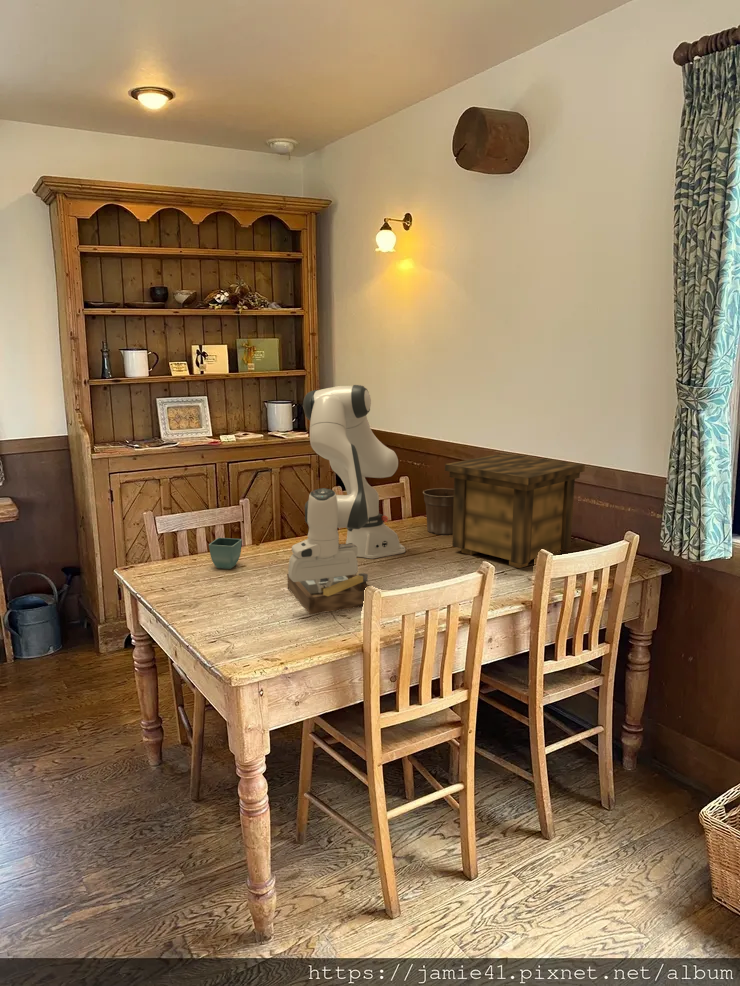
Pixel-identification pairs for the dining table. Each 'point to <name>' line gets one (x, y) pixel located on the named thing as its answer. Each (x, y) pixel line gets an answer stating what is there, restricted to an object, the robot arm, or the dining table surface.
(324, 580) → the shallow grey tray
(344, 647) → the dining table surface
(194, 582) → the dining table surface
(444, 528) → the plant pot
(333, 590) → the yellow bar
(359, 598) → the tray
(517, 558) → the crate
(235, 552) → the flower pot
